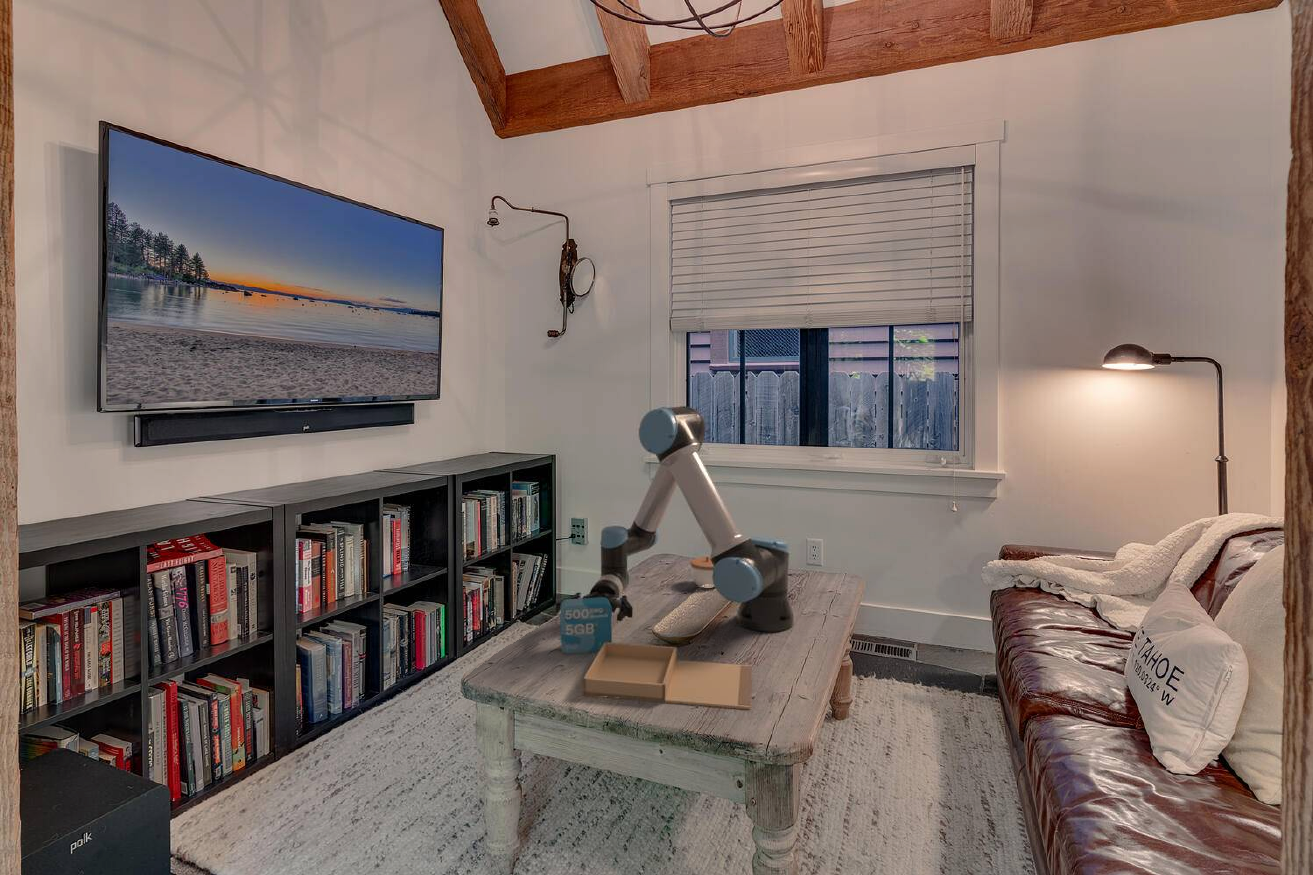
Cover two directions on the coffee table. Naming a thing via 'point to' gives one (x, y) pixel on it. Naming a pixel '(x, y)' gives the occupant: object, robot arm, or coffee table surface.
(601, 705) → the coffee table surface
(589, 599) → the data package
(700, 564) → the lidded jar
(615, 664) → the mailer box
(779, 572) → the robot arm
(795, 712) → the coffee table surface
